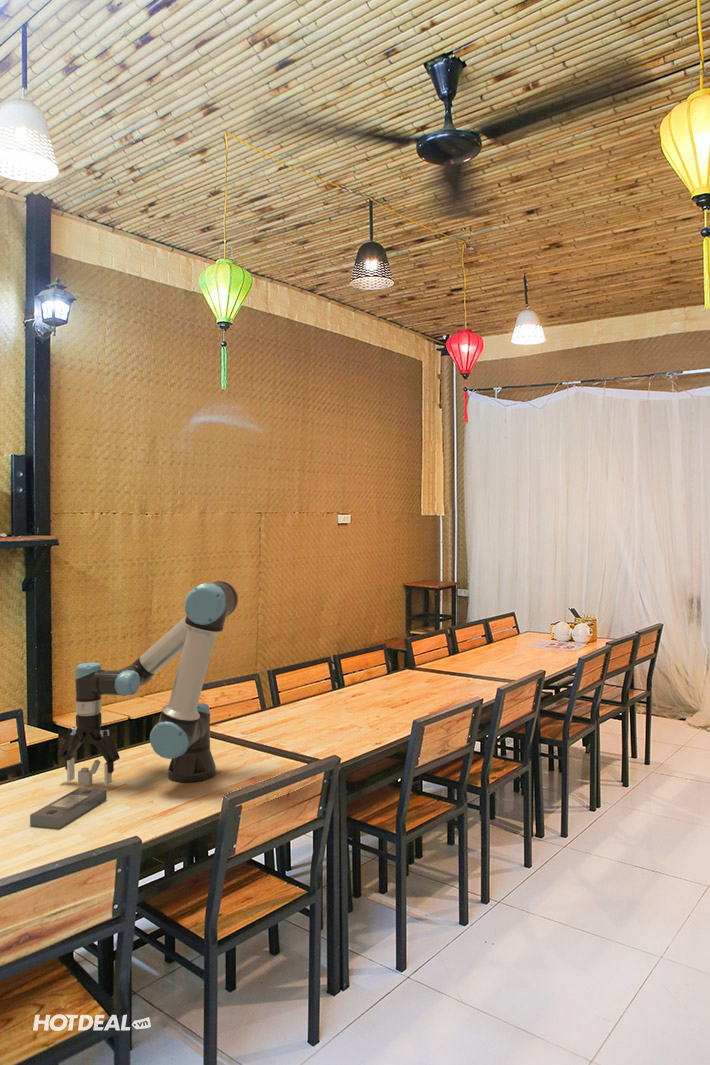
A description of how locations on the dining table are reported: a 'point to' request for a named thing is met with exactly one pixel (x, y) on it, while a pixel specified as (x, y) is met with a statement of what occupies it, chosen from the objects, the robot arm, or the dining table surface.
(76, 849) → the dining table surface
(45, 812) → the dark grey rectangular base
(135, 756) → the dining table surface
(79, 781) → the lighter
